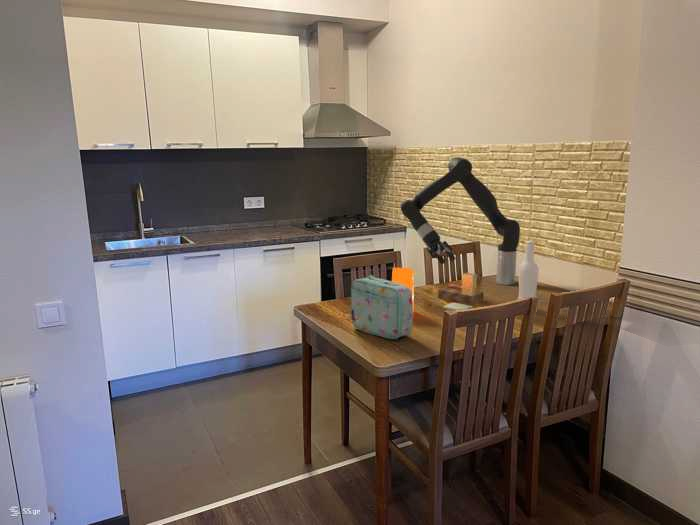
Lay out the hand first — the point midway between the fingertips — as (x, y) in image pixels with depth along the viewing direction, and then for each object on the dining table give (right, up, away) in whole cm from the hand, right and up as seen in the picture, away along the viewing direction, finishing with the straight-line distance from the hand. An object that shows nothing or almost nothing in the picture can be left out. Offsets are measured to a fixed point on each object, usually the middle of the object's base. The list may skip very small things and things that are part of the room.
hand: (448, 261), depth 230 cm
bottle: (+30, -21, -15) cm, 40 cm away
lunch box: (-34, -28, -38) cm, 58 cm away
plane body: (+6, -17, +3) cm, 19 cm away
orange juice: (-23, -22, -16) cm, 36 cm away
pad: (+2, -20, -10) cm, 23 cm away
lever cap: (+8, -15, -4) cm, 17 cm away
